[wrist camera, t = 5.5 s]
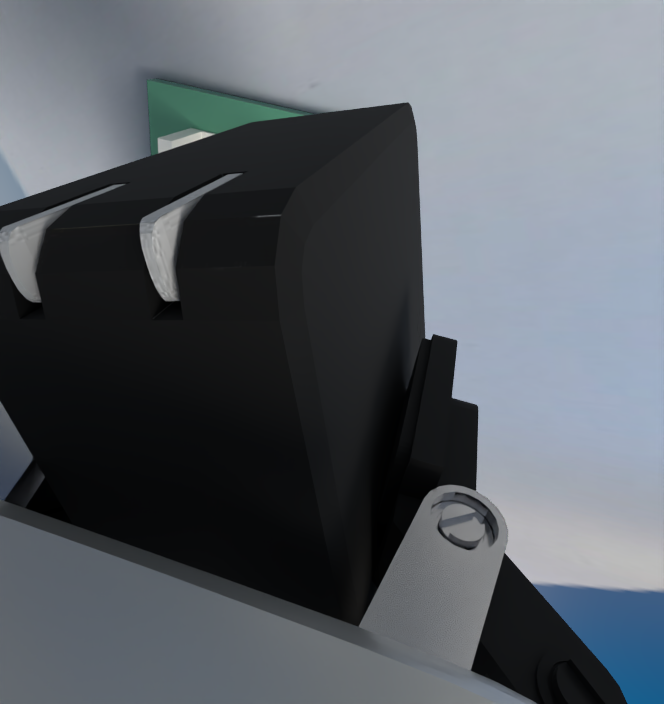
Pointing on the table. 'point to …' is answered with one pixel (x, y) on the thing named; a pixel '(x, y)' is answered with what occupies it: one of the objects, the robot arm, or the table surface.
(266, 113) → the board
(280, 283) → the electronic device
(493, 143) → the table surface
